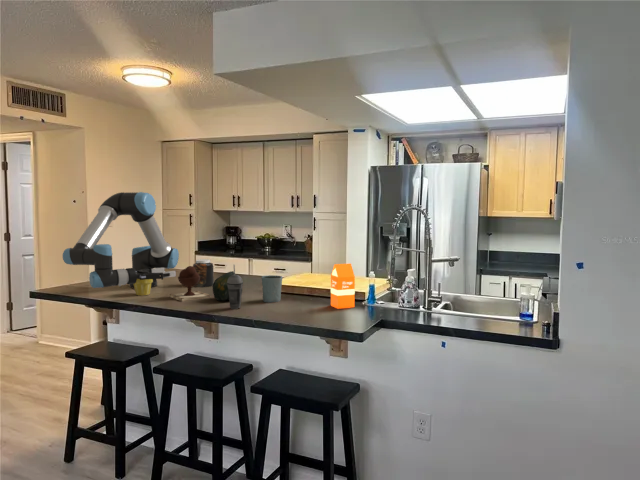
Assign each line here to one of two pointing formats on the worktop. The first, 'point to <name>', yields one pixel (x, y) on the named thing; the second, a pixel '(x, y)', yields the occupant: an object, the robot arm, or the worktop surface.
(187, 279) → the ice cream bowl
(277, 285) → the blue-grey cup
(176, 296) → the trivet
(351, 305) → the orange juice
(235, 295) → the beverage cup
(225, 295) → the squash
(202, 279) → the jar
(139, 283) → the plant pot
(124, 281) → the robot arm
